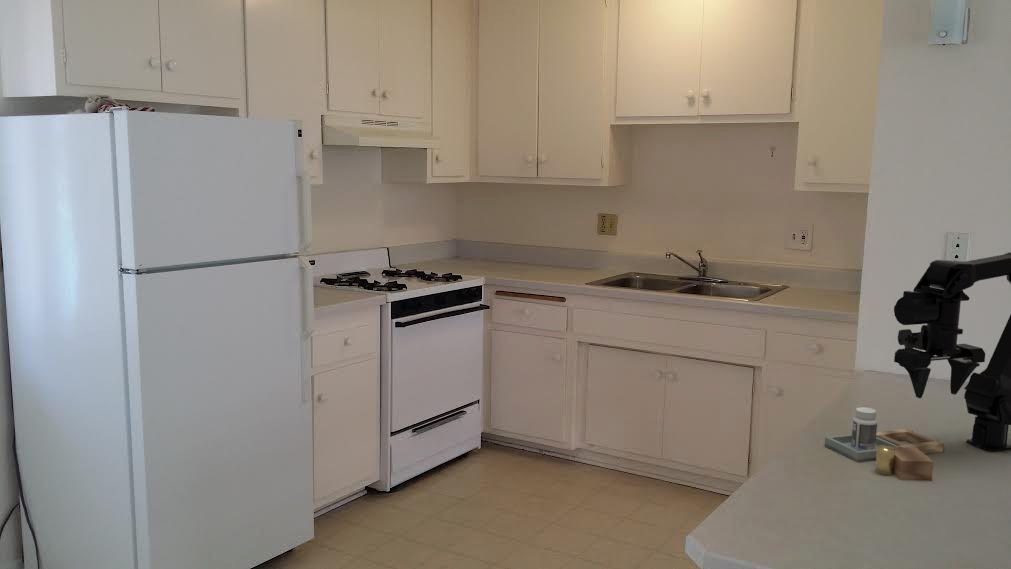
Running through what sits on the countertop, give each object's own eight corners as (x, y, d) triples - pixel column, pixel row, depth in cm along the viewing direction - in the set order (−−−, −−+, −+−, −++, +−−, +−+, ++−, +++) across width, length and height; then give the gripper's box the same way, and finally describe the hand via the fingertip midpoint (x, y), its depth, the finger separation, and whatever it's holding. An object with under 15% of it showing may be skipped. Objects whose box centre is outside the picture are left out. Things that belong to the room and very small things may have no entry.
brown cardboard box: (914, 466, 172) (916, 447, 171) (931, 481, 164) (933, 461, 163) (884, 465, 172) (885, 446, 171) (899, 480, 164) (901, 460, 163)
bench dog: (884, 468, 169) (886, 444, 169) (896, 474, 166) (898, 449, 166) (871, 470, 168) (873, 445, 168) (883, 476, 165) (885, 451, 165)
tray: (866, 441, 186) (866, 432, 185) (900, 456, 176) (901, 447, 176) (824, 446, 182) (825, 437, 182) (857, 462, 173) (858, 452, 172)
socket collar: (906, 436, 189) (907, 428, 189) (943, 451, 180) (943, 443, 180) (869, 440, 186) (869, 432, 186) (903, 456, 177) (904, 448, 176)
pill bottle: (879, 449, 179) (882, 410, 178) (867, 453, 176) (871, 414, 175) (857, 443, 182) (861, 405, 181) (846, 447, 180) (849, 408, 178)
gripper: (946, 312, 185) (940, 382, 188) (877, 317, 179) (871, 389, 182) (990, 322, 175) (983, 396, 177) (918, 327, 169) (911, 404, 171)
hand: (936, 395), depth 177 cm, fingers open, 9 cm apart
